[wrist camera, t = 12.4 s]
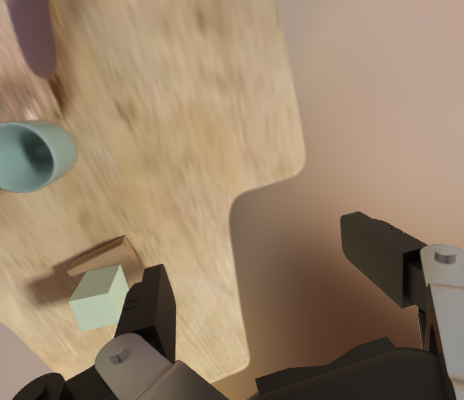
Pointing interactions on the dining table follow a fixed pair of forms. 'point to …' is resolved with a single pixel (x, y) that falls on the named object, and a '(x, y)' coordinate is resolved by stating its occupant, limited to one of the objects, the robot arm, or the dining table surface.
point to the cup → (34, 154)
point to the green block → (99, 297)
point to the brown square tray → (110, 261)
